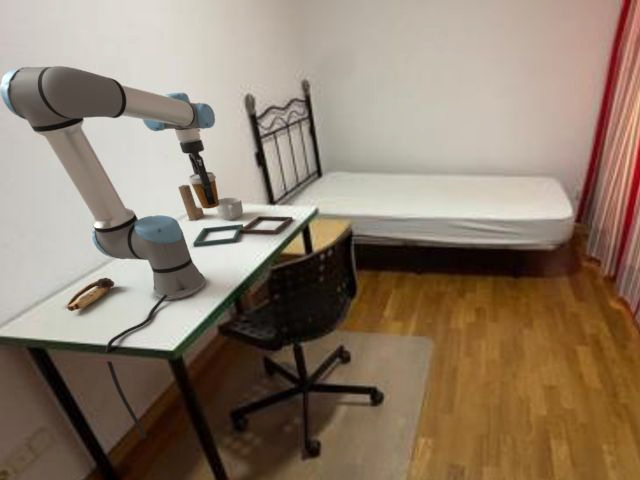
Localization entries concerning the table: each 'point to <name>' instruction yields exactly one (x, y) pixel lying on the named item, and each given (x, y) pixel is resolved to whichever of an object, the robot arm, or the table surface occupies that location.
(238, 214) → the teacup
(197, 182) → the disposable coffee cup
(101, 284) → the bone fish hook
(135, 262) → the table surface
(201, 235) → the left stand
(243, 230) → the right stand
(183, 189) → the wooden block
